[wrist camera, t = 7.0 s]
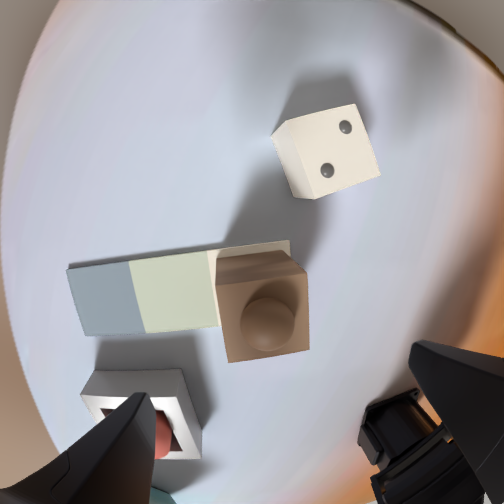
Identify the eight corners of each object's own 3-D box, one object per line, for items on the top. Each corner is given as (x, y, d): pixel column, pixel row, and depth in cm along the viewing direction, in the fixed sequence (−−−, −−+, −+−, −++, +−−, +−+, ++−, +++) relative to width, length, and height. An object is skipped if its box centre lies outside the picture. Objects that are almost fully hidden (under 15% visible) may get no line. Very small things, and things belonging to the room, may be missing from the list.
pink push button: (165, 390, 18) (158, 424, 14) (180, 427, 18) (177, 460, 15) (113, 390, 17) (100, 421, 14) (132, 427, 18) (124, 457, 15)
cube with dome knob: (282, 249, 17) (318, 283, 10) (286, 309, 18) (319, 366, 11) (216, 258, 16) (214, 299, 10) (225, 318, 17) (229, 382, 11)
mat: (288, 239, 17) (289, 240, 17) (293, 313, 18) (294, 315, 18) (67, 268, 16) (65, 270, 15) (87, 334, 17) (85, 336, 16)
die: (327, 120, 16) (356, 102, 12) (348, 177, 17) (382, 175, 13) (270, 136, 16) (286, 119, 11) (293, 197, 17) (316, 199, 12)
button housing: (181, 368, 18) (176, 396, 15) (202, 431, 20) (201, 458, 17) (94, 370, 17) (79, 394, 14) (125, 431, 19) (118, 455, 16)
